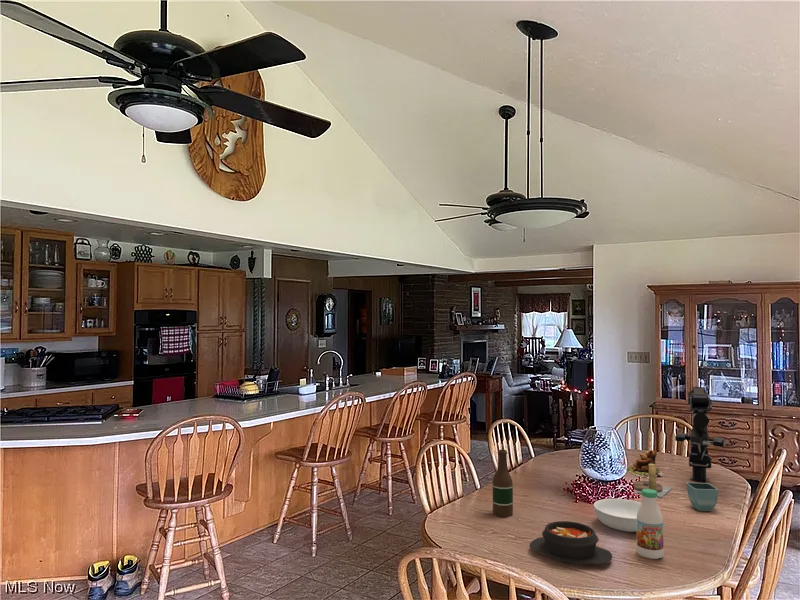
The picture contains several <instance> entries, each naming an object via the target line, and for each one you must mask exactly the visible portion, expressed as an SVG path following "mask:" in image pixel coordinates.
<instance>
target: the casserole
mask: <svg viewBox="0 0 800 600" xmlns="http://www.w3.org/2000/svg"><path fill="white" fill-rule="evenodd" d="M541 536H542V537H541ZM541 536H540V537H537V538H535V539H533V540H532V541H531V542H530V543H529V548H530V549H531V550H532V551H534V552H537V553H539V554H543V555H545V556H546V557H548V558H550V559H553V560H556V561H558V562H563V563H568V564H591V565H604V564H607V563H609V562H610V561H611V560H613V553H612V552H611V551H610V550H608V549H606V548H602V547H599V546H597V543H599V537H598V536H597V534H596V532H595V529H594V528H593V527H591V526H589V525H587V524H583V523H580V522H575V521H570V520H569V521H568V520H567V521H566V520H565V521H563V520H561V521H553V522H549V523H547V524H546V525H545V526H544V529H543V530H542V532H541Z"/></svg>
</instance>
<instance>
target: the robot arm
mask: <svg viewBox="0 0 800 600" xmlns="http://www.w3.org/2000/svg"><path fill="white" fill-rule="evenodd" d="M687 404H688V405H689V410H690V411H691V413H692V426H691V427H692V428H691V432H690V434H689V433H687V432H685V433H684V432H678V433H676V435H675V436H674V438H675V439H674V440H675V442H681V443H683V442H685V441H690V442H689V445H691V448H690V452H689V453H688V466H689V468H690V467H691V470H692V471H691V472H692V473H691V475H692V476H691V478H690V479H689V480H690V481H692V482H693V481H694V482H697V483H707V482H708V481H710V480H709V479H710V478H707V469H711V468H712V457H711V454H709V450H708V448H710V446H712V444H713V446H714V447H719V448H724V447H725V446H727V440H726V438H725V437H720V436H719V437H718V436H716V437H714V438H710V436H709V435H710V434H709V431H708V429H709V426H708V425H709V421H710V419H709V417H708V412H711V410H713V405H712V399H711V397H710V396H709V393H708V392H707V391H705V387H703V386H692V387H691V390H690V391H688V393H687Z"/></svg>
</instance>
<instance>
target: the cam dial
mask: <svg viewBox="0 0 800 600" xmlns="http://www.w3.org/2000/svg"><path fill="white" fill-rule="evenodd" d="M656 468H657V465H656V463H655V464H649V478H648V480H647V481H646V480H637V481H636V480H634V481H635V482H633V481H632V482H633V486H634V489H637V490H640V491H642V490H643V489H653V490H656V491H657V492H660V491H662V486H663V485H662V484H661V483H657V477H656Z"/></svg>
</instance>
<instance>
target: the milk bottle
mask: <svg viewBox="0 0 800 600" xmlns="http://www.w3.org/2000/svg"><path fill="white" fill-rule="evenodd" d="M657 495H658V494H657V491H656V490H653V489H643V490H642V494H641V498H642V499H641V502H640V503H641V505H640V507H639V509H638V513H637V531H636V553H637V554H638V555H639V556H641V557H643V558H645V559H650V560H658V559H659V558H660V559H662V558H663V557H664V518H663V514H662V512H661V510H660V507H659V504H658V502H657V500H658V497H657Z"/></svg>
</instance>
